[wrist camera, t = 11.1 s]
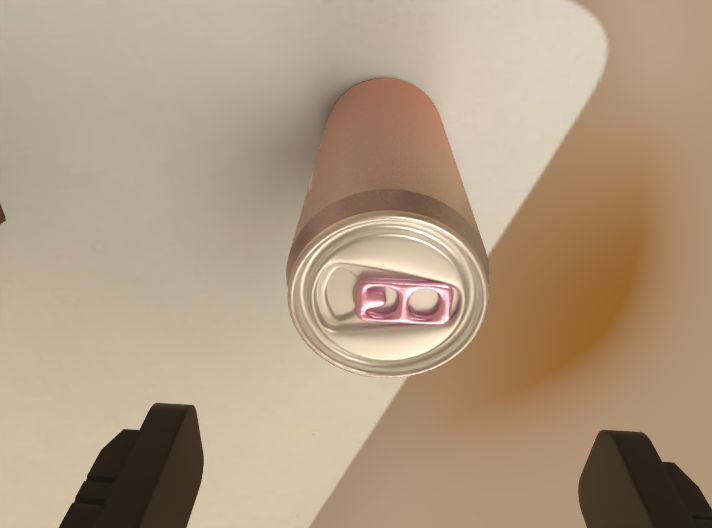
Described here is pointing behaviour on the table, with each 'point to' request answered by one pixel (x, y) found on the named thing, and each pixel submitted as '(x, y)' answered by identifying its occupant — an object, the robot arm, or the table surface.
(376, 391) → the table surface
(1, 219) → the chest
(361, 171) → the beverage can
